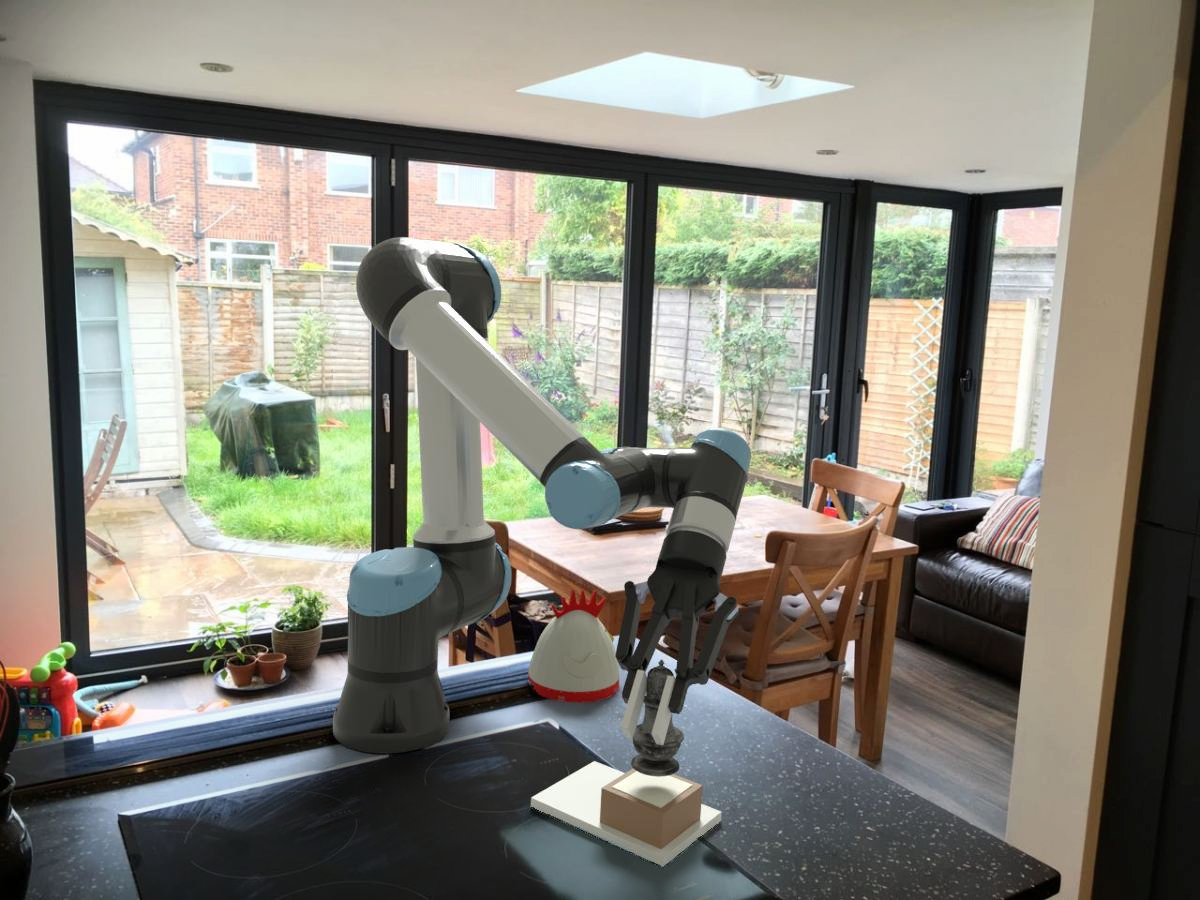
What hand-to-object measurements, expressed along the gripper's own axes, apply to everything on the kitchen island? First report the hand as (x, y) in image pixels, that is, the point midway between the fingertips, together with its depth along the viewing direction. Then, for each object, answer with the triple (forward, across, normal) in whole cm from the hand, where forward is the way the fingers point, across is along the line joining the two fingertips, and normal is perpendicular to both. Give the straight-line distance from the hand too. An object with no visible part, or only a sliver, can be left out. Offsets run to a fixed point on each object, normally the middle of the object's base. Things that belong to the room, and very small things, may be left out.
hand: (642, 735), depth 98 cm
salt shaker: (0, 0, -8) cm, 8 cm away
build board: (+4, +4, -15) cm, 16 cm away
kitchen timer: (-18, +24, -38) cm, 48 cm away
